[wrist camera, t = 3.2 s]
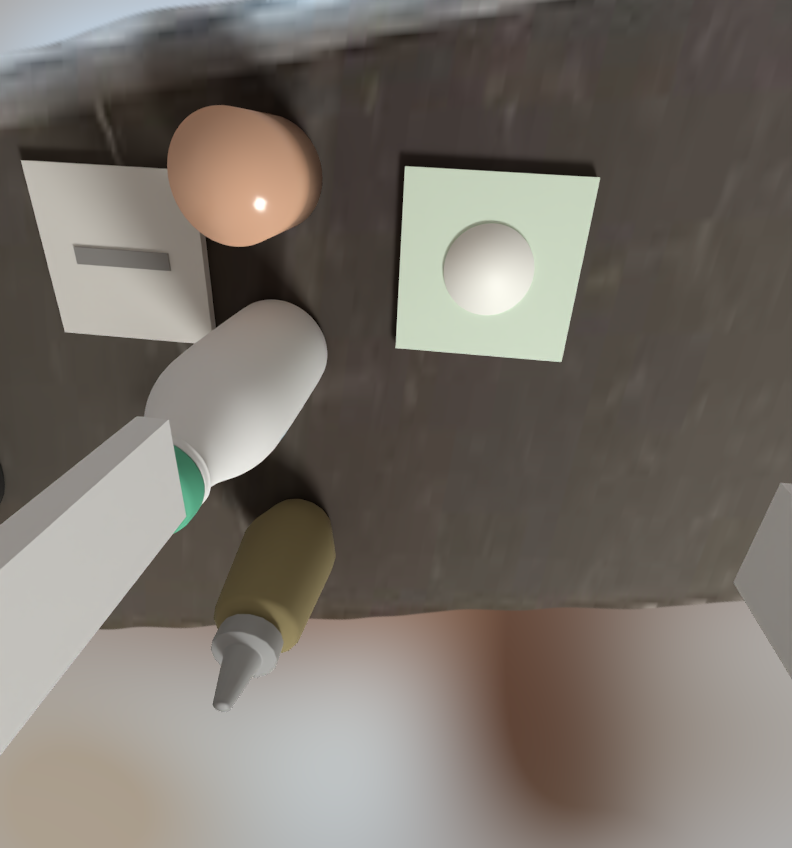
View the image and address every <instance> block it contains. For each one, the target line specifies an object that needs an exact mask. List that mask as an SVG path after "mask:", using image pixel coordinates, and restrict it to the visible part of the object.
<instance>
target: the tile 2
mask: <svg viewBox="0 0 792 848" xmlns="http://www.w3.org/2000/svg"><path fill="white" fill-rule="evenodd" d="M599 181H600V178H599V177H587V176H570V175H553V174H536V173H519V172H501V171H484V170H467V169H450V168H433V167H416V166H405V174H404V193H403V213H402V232H401V252H400V271H399V291H398V310H397V330H396V348H402V349H414V350H426V351H438V352H449V353H461V354H473V355H485V356H497V357H508V358H520V359H532V360H544V361H555V362H561V361H562V357H563V352H564V347H565V342H566V338H567V333H568V328H569V323H570V319H571V314H572V309H573V304H574V300H575V295H576V290H577V285H578V281H579V276H580V271H581V266H582V262H583V257H584V252H585V247H586V243H587V238H588V233H589V228H590V224H591V219H592V214H593V209H594V205H595V200H596V195H597V190H598V186H599Z"/></svg>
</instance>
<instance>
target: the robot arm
mask: <svg viewBox="0 0 792 848" xmlns="http://www.w3.org/2000/svg"><path fill="white" fill-rule="evenodd" d="M3 495H4V476H3V472H2V469H1V466H0V503H1V501H2V498H3ZM185 517H186V513H185V507H184V502H183V496H182V490H181V485H180V479H179V474H178V468H177V463H176V457H175V452H174V446H173V440H172V435H171V429H170V424H169V420H168V419H159V418H149V417H139V416H137V417H135V418H134V419H133V420H132V421H130V422H129V423H128V424H126V425H125V426H124V427H123V428H121V429H120V430H119V431H118V432H116V433H115V434H114V435H113V436H111V437H110V438H109V439H108V440H106V441H105V442H104V443H103V444H101V445H100V446H99V447H98V448H96V449H95V450H94V451H93V452H91V453H90V454H89V455H88V456H86V457H85V458H84V459H82V460H81V461H80V462H79V463H77V464H76V465H75V466H74V467H72V468H71V469H70V470H69V471H67V472H66V473H65V474H64V475H62V476H61V477H60V478H59V479H57V480H56V481H55V482H54V483H52V484H51V485H50V486H49V487H47V488H46V489H45V490H44V491H42V492H41V493H40V494H38V495H37V496H36V497H35V498H33V499H32V500H31V501H30V502H28V503H27V504H26V505H25V506H23V507H22V508H21V509H20V510H18V511H17V512H16V513H15V514H13V515H12V516H11V517H10V518H8V519H7V520H6V521H5V522H3V523H2V524H1V525H0V755H1V754H2V753H3V751H4V750H5V749H6V747H7V746H8V745H9V744H10V742H11V741H12V740H13V739H14V737H15V736H16V735H17V733H18V732H19V731H20V729H21V728H22V727H23V726H24V724H25V723H26V722H27V721H28V719H29V718H30V717H31V715H32V714H33V713H34V712H35V710H36V709H37V708H38V706H39V705H40V704H41V703H42V701H43V700H44V699H45V697H46V696H47V695H48V694H49V692H50V691H51V690H52V688H53V687H54V686H55V685H56V683H57V682H58V681H59V679H60V678H61V677H62V676H63V674H64V673H65V672H66V670H67V669H68V668H69V667H70V665H71V664H72V663H73V661H74V660H75V659H76V658H77V656H78V655H79V654H80V652H81V651H82V650H83V648H84V647H85V646H86V645H87V643H88V642H89V641H90V640H91V638H92V637H93V636H94V634H95V633H96V632H97V631H98V629H99V628H100V627H101V625H102V624H103V623H104V622H105V620H106V619H107V618H108V616H109V615H110V614H111V613H112V611H113V610H114V609H115V607H116V606H117V605H118V604H119V602H120V601H121V600H122V598H123V597H124V596H125V595H126V593H127V592H128V591H129V589H130V588H131V587H132V586H133V584H134V583H135V582H136V580H137V579H138V578H139V577H140V575H141V574H142V573H143V571H144V570H145V569H146V568H147V566H148V565H149V564H150V562H151V561H152V560H153V559H154V557H155V556H156V555H157V553H158V552H159V551H160V550H161V548H162V547H163V546H164V544H165V543H166V542H167V541H168V539H169V538H170V537H171V535H172V534H173V533H174V532H175V530H176V529H177V528H178V526H179V525H180V524H181V523H182V521H183V520H184V519H185ZM733 583H734V584H735V586H736V588H737V589H738V591H739V593H740V594H741V596H742V598H743V599H744V601H745V603H746V604H747V605H748V607H749V609H750V611H751V612H752V614H753V616H754V617H755V619H756V621H757V622H758V624H759V626H760V627H761V629H762V630H763V632H764V634H765V635H766V637H767V639H768V640H769V642H770V644H771V645H772V647H773V649H774V650H775V652H776V654H777V655H778V657H779V659H780V660H781V662H782V663H783V665H784V667H785V668H786V670H787V672H788V673H789V675H790V677H791V678H792V484H788V483H780V485H779V487H778V489H777V491H776V493H775V495H774V498H773V500H772V502H771V504H770V506H769V508H768V510H767V512H766V515H765V517H764V519H763V521H762V523H761V525H760V527H759V529H758V531H757V534H756V536H755V538H754V540H753V542H752V544H751V546H750V548H749V551H748V553H747V555H746V557H745V559H744V561H743V563H742V565H741V567H740V570H739V572H738V574H737V576H736V578H735V580H734V582H733Z"/></svg>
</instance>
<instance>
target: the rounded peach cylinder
mask: <svg viewBox="0 0 792 848" xmlns="http://www.w3.org/2000/svg"><path fill="white" fill-rule="evenodd" d="M167 171H168V179H169V184H170V188H171V191H172V194H173V197H174V199H175V201H176V203H177V205H178V207H179V209H180V210H181V212H182V213H183V215H184V216H185V218H186V219H187V220H188V221H189V222H190V223H191V225H192V226H193V227H195V228H196V229H197V230H198V231H199V232H200V233H202V234H203V235H204V236H206V237H208V238H210V239H211V240H213V241H216V242H218V243H220V244H224V245H228V246H235V247H244V246H251V245H254V244H257V243H260V242H262V241H264V240H266V239H269V238H271V237H273V236H275V235H277V234H280V233H282V232H284V231H286V230H288V229H291V228H293V227H295V226H297V225H299V224H300V223H302V222H303V221H304V220H306V219H307V218H308V217H309V216H310V214H311V213H312V212H313V210H314V209H315V207H316V205H317V203H318V200H319V197H320V194H321V189H322V169H321V163H320V160H319V157H318V154H317V152H316V149H315V147H314V145H313V144H312V142H311V140H310V139H309V138H308V136H307V135H306V134H305V133H304V132H303V131H302V130H301V129H300V128H299V127H298V126H297V125H296V124H294V123H293V122H291V121H289V120H288V119H285V118H283V117H281V116H277V115H274V114H269V113H263V112H258V111H253V110H248V109H243V108H238V107H233V106H226V105H213V106H208V107H204V108H202V109H199V110H197V111H195V112H193V113H192V114H190V115H189V116H188V117H187V118H186V119H184V121H183V122H182V123H181V124H180V125H179V127H178V128H177V130H176V131H175V133H174V135H173V138H172V140H171V143H170V146H169V151H168V157H167Z"/></svg>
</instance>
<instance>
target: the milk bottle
mask: <svg viewBox="0 0 792 848" xmlns="http://www.w3.org/2000/svg"><path fill="white" fill-rule="evenodd" d="M326 363H327V346H326V342H325V338H324V336H323V333H322V331H321V329H320V328H319V326H318V325H317V323H316V322H315V321H314V319H313V318H312V317H311V316H310V315H309V314H308V313H306V312H305V311H304V310H302V309H301V308H299V307H297V306H296V305H294V304H291V303H289V302H285V301H281V300H274V299H269V300H261V301H257V302H254V303H252V304H250V305H248V306H247V307H245V308H243V309H242V310H240V311H239V312H237V313H236V314H235V315H233V316H232V317H230V318H229V319H228V320H226V321H225V322H224V323H222V324H221V325H219V326H218V327H217V328H215V329H214V330H212V331H211V332H210V333H208V334H207V335H206V336H204V337H203V338H202V339H200V340H199V341H198V342H196V343H195V344H194V345H192V346H191V347H190V348H188V349H187V350H186V351H185V352H183V353H182V354H181V355H180V356H179V357H177V358H176V359H175V360H174V361H173V362H172V363H171V364H170V365H169V366H168V367H167V368H166V369H165V370H164V371H163V373H162V374H161V375H160V376H159V378H158V379H157V381H156V383H155V384H154V386H153V388H152V390H151V392H150V395H149V397H148V400H147V404H146V408H145V414H144V417H149V418H159V419H168V420H169V424H170V429H171V435H172V440H173V446H174V452H175V457H176V463H177V468H178V474H179V479H180V485H181V490H182V496H183V502H184V507H185V513H186V517H185V519H184V520H183V521H182V523H181V524H180V525H179V526H178V528H177V529H176V530H175V532H177V531H179V530H180V529H182V528H183V527H185V526H186V525H187V524H188V523H189V521H190V520H191V519H192V518H193V517H194V515H195V514H196V512H197V511H198V509H199V508H200V506H201V505H202V504H203V503H204V501H205V500H206V499H207V497H208V495H209V492H210V488H211V486H213V485H215V484H217V483H219V482H222V481H225V480H228V479H231V478H234V477H237V476H239V475H241V474H244V473H245V472H247V471H249V470H251V469H252V468H254V467H255V466H256V465H258V464H259V463H260V462H262V461H263V460H264V459H265V458H266V457H267V456H268V455H269V454H270V453H271V452H272V451H273V450H274V448H275V447H276V446H277V444H278V443H279V442H280V440H281V439H282V438H283V436H284V435H285V433H286V432H287V430H288V429H289V427H290V426H291V424H292V423H293V421H294V420H295V418H296V417H297V415H298V413H299V412H300V410H301V409H302V407H303V406H304V404H305V402H306V401H307V399H308V398H309V396H310V394H311V393H312V391H313V390H314V388H315V386H316V385H317V383H318V381H319V380H320V378H321V376H322V374H323V372H324V370H325V367H326ZM175 532H174V533H175Z"/></svg>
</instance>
